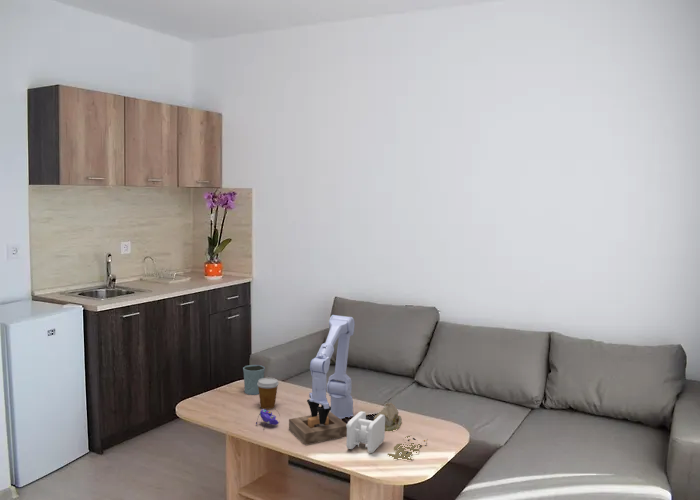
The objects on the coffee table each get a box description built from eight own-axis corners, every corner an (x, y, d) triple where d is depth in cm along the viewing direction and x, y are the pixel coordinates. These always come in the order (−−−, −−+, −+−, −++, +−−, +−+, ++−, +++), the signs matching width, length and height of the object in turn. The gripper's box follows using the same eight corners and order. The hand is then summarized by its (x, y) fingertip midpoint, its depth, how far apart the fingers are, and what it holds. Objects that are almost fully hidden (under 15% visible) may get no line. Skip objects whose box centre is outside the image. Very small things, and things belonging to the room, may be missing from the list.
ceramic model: (392, 434, 249) (393, 410, 248) (368, 428, 254) (368, 405, 253) (405, 422, 261) (406, 400, 260) (381, 417, 266) (382, 395, 265)
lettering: (409, 434, 249) (409, 432, 249) (432, 439, 245) (432, 437, 245) (384, 458, 227) (384, 455, 227) (409, 464, 223) (410, 462, 223)
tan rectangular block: (325, 426, 251) (325, 414, 250) (328, 429, 248) (328, 417, 248) (307, 429, 247) (307, 417, 246) (310, 432, 244) (311, 420, 244)
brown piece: (330, 422, 259) (330, 411, 259) (348, 436, 245) (348, 425, 245) (288, 429, 250) (289, 419, 250) (305, 444, 236) (305, 433, 236)
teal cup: (240, 394, 290) (240, 369, 289) (247, 387, 300) (247, 363, 299) (260, 396, 288) (260, 371, 287) (267, 389, 298) (267, 365, 297)
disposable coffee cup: (282, 405, 277) (282, 380, 276) (268, 412, 269) (269, 385, 268) (266, 401, 282) (266, 376, 281) (252, 407, 274) (252, 381, 273)
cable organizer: (370, 456, 228) (371, 426, 226) (344, 451, 232) (345, 421, 231) (384, 441, 241) (385, 413, 240) (360, 436, 245) (361, 408, 244)
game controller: (287, 416, 255) (269, 418, 247) (280, 433, 256) (261, 435, 249) (273, 403, 261) (255, 404, 254) (266, 419, 263) (248, 421, 255)
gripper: (302, 383, 250) (302, 415, 252) (318, 394, 237) (317, 428, 239) (318, 381, 253) (317, 412, 255) (334, 392, 241) (333, 425, 242)
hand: (318, 420), depth 247 cm, fingers open, 7 cm apart
